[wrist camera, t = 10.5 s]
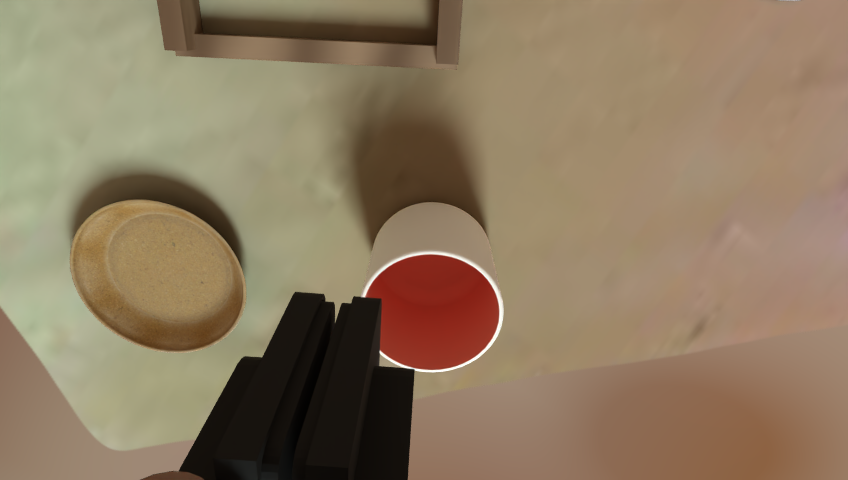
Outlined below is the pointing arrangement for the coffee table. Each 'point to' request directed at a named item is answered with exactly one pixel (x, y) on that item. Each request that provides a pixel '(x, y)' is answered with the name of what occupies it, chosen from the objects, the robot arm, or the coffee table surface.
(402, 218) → the cup
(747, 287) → the coffee table surface
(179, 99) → the coffee table surface
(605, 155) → the coffee table surface
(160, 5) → the frame
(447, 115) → the coffee table surface
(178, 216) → the plant saucer
